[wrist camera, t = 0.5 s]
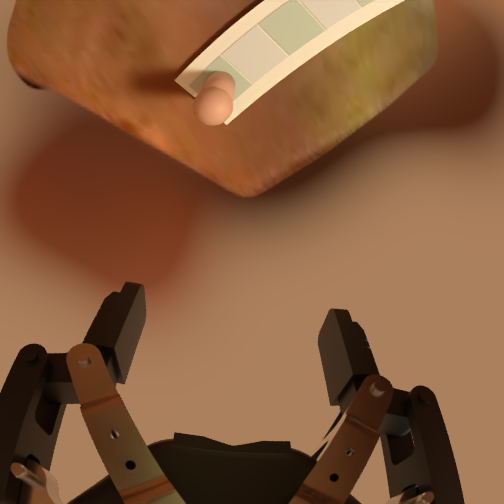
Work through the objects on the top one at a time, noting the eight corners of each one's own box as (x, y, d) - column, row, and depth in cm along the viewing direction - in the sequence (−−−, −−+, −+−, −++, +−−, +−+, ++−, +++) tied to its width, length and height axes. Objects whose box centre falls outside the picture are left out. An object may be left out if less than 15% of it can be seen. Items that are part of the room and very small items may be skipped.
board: (175, 79, 28) (174, 80, 27) (358, -56, 15) (361, -58, 14) (227, 122, 32) (226, 125, 31) (402, -1, 19) (406, -1, 19)
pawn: (197, 85, 28) (181, 113, 21) (220, 64, 26) (210, 85, 20) (220, 104, 29) (211, 139, 23) (242, 84, 28) (241, 112, 22)
